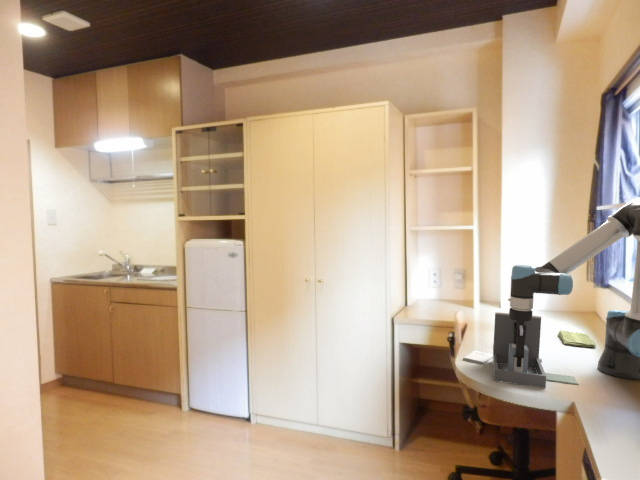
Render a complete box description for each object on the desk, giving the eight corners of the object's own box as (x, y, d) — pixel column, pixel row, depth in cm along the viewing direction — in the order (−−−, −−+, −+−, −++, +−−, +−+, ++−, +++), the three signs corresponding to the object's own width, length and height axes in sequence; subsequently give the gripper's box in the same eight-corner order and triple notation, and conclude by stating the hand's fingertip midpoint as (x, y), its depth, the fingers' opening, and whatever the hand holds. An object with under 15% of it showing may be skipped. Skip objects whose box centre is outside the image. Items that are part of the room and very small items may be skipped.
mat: (574, 377, 160) (574, 376, 160) (578, 384, 154) (578, 383, 154) (543, 373, 164) (543, 372, 164) (545, 380, 157) (545, 379, 157)
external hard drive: (462, 361, 176) (473, 353, 186) (484, 366, 171) (494, 358, 181) (463, 357, 176) (474, 349, 186) (484, 362, 171) (494, 354, 181)
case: (540, 367, 170) (543, 316, 168) (548, 388, 150) (551, 330, 148) (492, 361, 175) (495, 311, 174) (494, 380, 156) (497, 325, 154)
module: (525, 372, 164) (527, 344, 163) (526, 378, 158) (528, 349, 158) (507, 370, 166) (509, 342, 165) (508, 375, 160) (510, 347, 160)
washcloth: (563, 346, 199) (563, 339, 198) (557, 335, 215) (557, 329, 215) (597, 350, 194) (597, 343, 194) (588, 339, 211) (588, 332, 211)
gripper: (508, 302, 171) (504, 361, 172) (511, 313, 153) (507, 379, 155) (529, 304, 168) (526, 364, 170) (535, 315, 150) (531, 382, 152)
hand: (517, 371), depth 162 cm, fingers closed on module, 6 cm apart
